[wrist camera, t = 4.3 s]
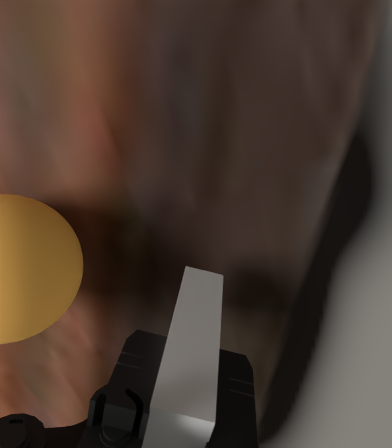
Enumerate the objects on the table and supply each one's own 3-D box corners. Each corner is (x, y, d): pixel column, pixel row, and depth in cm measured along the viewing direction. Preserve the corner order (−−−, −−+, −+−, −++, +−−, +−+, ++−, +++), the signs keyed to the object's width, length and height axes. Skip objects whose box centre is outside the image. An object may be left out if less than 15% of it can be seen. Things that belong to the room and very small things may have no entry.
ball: (-17, 163, 15) (-143, 205, 10) (110, 196, 15) (48, 254, 10) (-18, 274, 17) (-122, 355, 12) (94, 303, 17) (36, 396, 12)
